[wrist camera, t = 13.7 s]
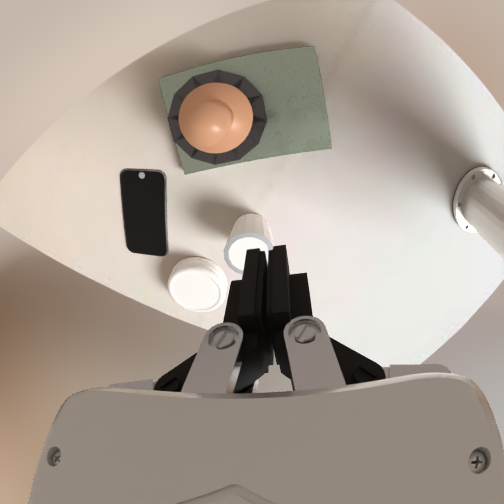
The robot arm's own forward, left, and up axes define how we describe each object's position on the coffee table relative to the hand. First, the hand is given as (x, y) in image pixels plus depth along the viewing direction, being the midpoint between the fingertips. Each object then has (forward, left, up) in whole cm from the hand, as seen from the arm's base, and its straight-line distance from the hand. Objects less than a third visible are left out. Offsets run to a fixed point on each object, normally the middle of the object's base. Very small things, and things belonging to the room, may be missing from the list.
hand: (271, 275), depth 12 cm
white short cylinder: (+16, +21, -29) cm, 39 cm away
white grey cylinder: (+5, +13, -29) cm, 31 cm away
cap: (+4, -5, -25) cm, 26 cm away
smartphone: (+21, +7, -29) cm, 36 cm away
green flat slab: (+2, -5, -28) cm, 29 cm away
